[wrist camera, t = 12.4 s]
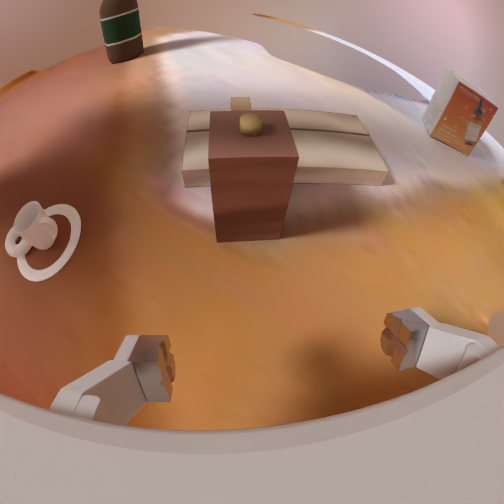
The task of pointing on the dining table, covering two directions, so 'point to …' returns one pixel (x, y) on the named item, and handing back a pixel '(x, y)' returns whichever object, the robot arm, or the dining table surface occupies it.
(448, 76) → the small box
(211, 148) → the block
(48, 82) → the dining table surface
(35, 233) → the white curved piece
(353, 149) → the ash board
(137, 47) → the beer bottle
